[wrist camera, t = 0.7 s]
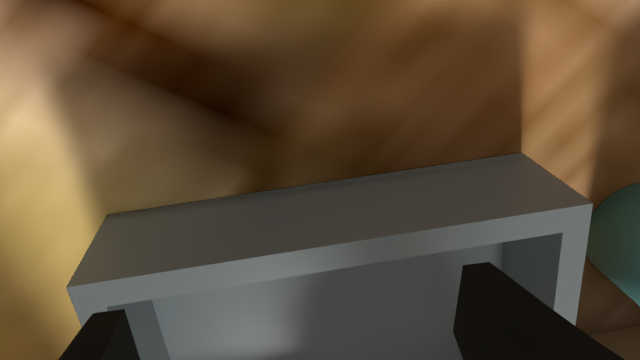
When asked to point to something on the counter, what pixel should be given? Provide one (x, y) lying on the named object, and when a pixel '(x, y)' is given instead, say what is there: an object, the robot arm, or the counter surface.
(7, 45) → the counter surface
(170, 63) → the counter surface
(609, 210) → the teal capsule
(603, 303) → the counter surface
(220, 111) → the counter surface
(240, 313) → the grey tote
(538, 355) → the robot arm
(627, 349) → the walnut cube
